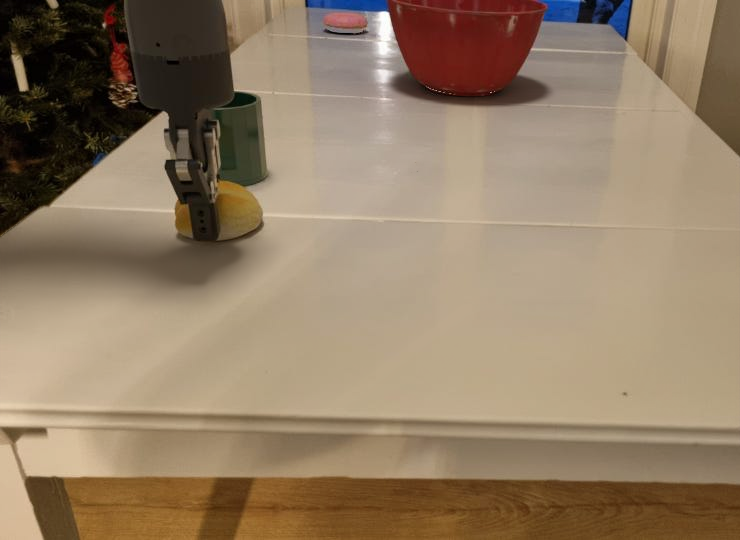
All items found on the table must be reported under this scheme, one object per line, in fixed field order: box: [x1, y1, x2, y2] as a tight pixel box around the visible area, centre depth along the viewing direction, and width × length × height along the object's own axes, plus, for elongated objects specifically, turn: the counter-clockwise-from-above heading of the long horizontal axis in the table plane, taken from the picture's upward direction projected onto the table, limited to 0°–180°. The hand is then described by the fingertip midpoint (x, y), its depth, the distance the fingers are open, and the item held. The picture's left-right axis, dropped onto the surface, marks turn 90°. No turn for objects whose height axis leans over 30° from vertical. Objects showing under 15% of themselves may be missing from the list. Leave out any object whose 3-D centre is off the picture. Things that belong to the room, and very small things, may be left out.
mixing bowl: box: [386, 0, 549, 97], centre depth 126 cm, size 28×28×15 cm
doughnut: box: [322, 11, 369, 35], centre depth 175 cm, size 11×11×4 cm
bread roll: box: [174, 181, 264, 242], centre depth 71 cm, size 8×9×4 cm
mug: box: [211, 90, 268, 187], centre depth 83 cm, size 12×8×9 cm
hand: (207, 237), depth 66 cm, fingers closed
